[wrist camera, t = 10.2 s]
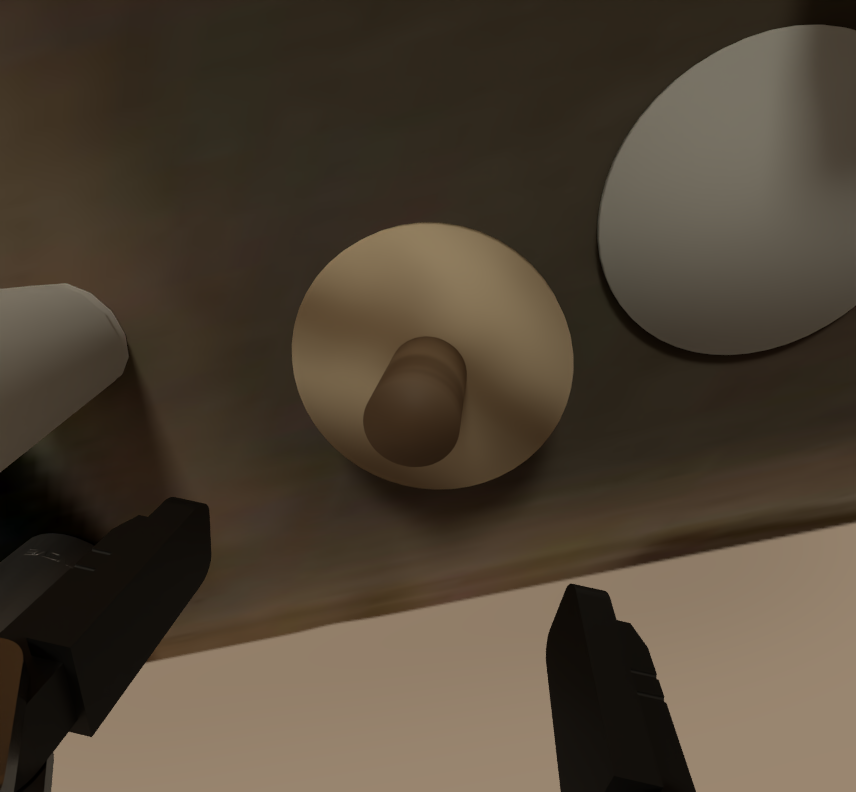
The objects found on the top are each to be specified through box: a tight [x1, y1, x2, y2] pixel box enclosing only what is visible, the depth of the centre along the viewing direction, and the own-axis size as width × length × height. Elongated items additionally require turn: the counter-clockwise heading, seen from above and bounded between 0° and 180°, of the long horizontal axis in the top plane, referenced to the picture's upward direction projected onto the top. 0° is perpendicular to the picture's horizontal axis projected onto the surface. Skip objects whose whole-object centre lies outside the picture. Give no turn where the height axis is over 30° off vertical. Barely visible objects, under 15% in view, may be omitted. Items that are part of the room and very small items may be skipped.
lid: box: [292, 222, 573, 490], centre depth 18 cm, size 12×12×6 cm
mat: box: [597, 25, 856, 355], centre depth 21 cm, size 13×13×1 cm
